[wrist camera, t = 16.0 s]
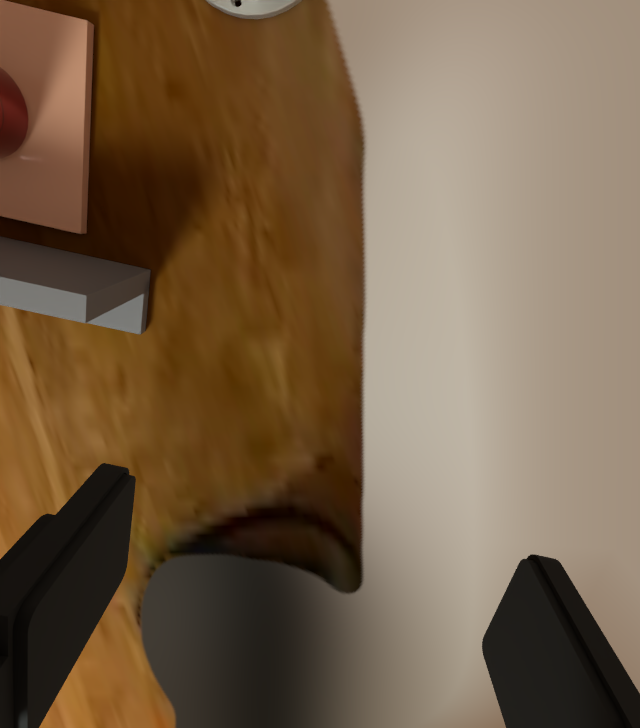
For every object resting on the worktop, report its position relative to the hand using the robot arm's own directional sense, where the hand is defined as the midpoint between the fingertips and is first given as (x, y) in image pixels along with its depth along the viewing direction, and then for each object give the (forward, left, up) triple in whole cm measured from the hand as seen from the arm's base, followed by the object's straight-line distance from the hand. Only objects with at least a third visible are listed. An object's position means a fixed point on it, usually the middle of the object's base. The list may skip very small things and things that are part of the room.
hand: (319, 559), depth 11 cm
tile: (-8, -31, -33) cm, 46 cm away
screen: (+5, -28, -33) cm, 44 cm away
